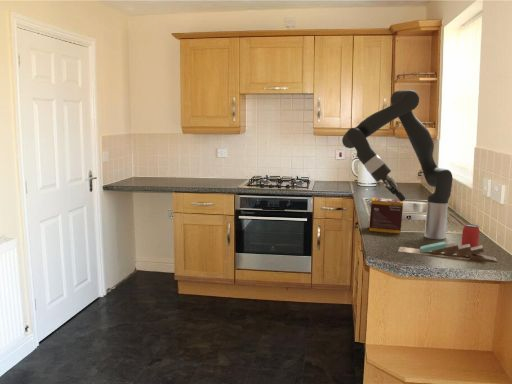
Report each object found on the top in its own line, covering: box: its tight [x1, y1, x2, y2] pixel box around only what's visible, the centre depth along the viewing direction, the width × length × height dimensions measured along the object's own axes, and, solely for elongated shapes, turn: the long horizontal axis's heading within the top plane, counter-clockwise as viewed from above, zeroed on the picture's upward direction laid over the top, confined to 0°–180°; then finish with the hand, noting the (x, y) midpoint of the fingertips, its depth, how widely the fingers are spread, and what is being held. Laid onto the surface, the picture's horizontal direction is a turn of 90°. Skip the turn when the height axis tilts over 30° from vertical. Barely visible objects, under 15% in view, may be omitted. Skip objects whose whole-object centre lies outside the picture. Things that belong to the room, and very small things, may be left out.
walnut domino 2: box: [444, 244, 471, 256], centre depth 201 cm, size 2×5×10 cm
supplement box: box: [368, 197, 404, 234], centre depth 249 cm, size 10×15×16 cm
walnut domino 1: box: [432, 242, 459, 254], centre depth 202 cm, size 2×5×10 cm
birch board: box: [398, 246, 471, 261], centre depth 204 cm, size 28×8×1 cm, turn 69°
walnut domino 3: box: [457, 244, 485, 257], centre depth 199 cm, size 2×5×10 cm
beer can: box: [460, 223, 480, 247], centre depth 210 cm, size 7×7×12 cm
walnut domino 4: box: [468, 253, 498, 263], centre depth 198 cm, size 2×5×10 cm
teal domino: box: [419, 241, 447, 253], centre depth 204 cm, size 2×5×10 cm
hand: (403, 200), depth 207 cm, fingers closed
